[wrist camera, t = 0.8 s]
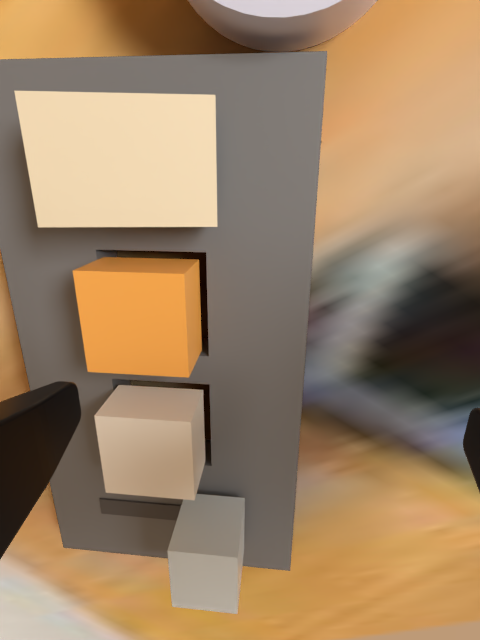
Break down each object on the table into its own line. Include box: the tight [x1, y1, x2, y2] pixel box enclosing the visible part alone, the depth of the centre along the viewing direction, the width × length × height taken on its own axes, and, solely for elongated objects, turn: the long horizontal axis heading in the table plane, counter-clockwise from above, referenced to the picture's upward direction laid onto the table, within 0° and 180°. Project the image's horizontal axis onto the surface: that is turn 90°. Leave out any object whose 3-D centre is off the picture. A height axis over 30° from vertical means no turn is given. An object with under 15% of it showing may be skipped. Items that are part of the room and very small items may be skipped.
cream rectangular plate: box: [14, 91, 217, 227], centre depth 13 cm, size 6×4×1 cm, turn 90°
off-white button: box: [94, 385, 205, 500], centre depth 17 cm, size 4×4×2 cm
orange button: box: [73, 257, 202, 378], centre depth 15 cm, size 4×4×2 cm
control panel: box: [0, 51, 327, 571], centre depth 18 cm, size 13×24×3 cm, turn 0°
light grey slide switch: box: [167, 494, 245, 614], centre depth 18 cm, size 3×4×3 cm
